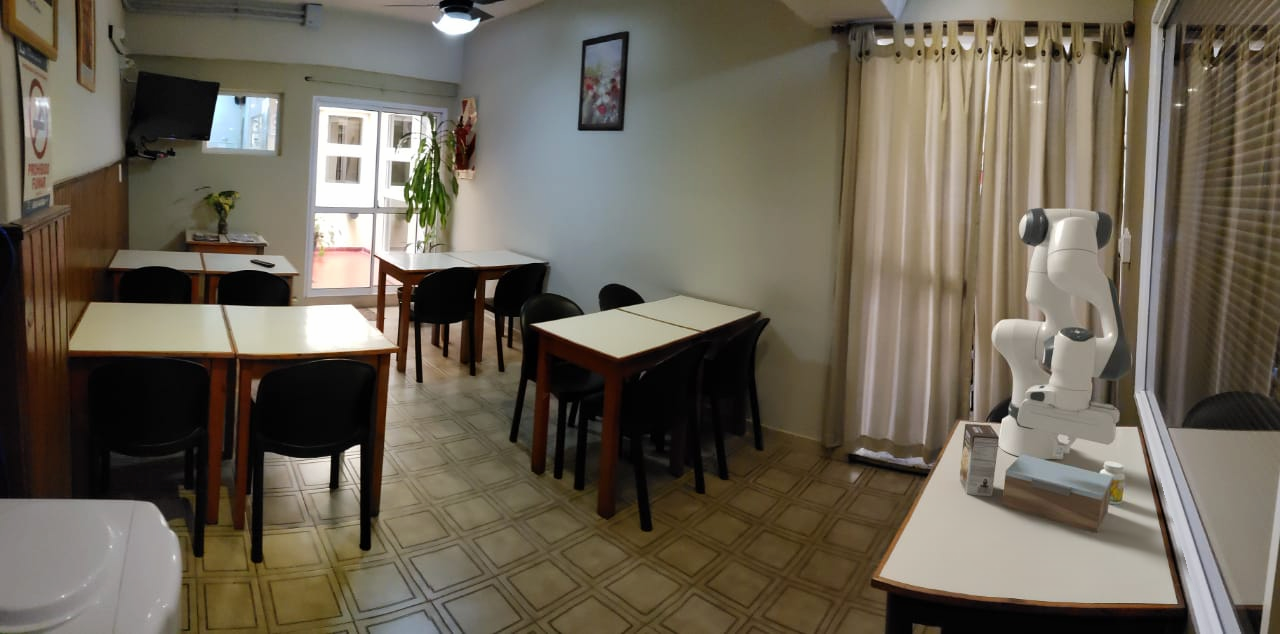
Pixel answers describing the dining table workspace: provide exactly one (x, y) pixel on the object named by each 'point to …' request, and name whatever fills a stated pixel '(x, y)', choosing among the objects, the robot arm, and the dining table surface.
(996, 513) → the dining table surface
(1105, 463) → the supplement bottle
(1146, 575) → the dining table surface
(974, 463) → the coffee box
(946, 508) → the dining table surface
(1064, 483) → the lid
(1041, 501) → the walnut box
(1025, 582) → the dining table surface
